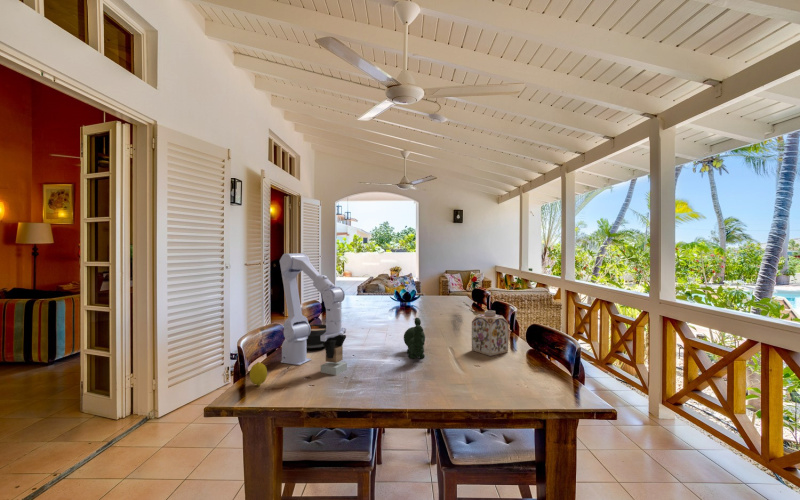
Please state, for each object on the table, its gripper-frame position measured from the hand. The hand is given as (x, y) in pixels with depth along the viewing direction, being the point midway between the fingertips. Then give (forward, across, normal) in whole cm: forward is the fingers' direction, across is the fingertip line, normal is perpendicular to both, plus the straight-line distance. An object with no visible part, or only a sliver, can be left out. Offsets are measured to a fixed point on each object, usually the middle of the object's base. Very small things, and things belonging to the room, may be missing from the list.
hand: (333, 356), depth 146 cm
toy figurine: (+6, +31, -21) cm, 38 cm away
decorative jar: (+6, +50, -49) cm, 70 cm away
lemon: (+6, -23, +15) cm, 28 cm away
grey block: (+6, 0, 0) cm, 6 cm away
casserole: (+6, +29, +29) cm, 41 cm away
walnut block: (+2, 0, 0) cm, 2 cm away
